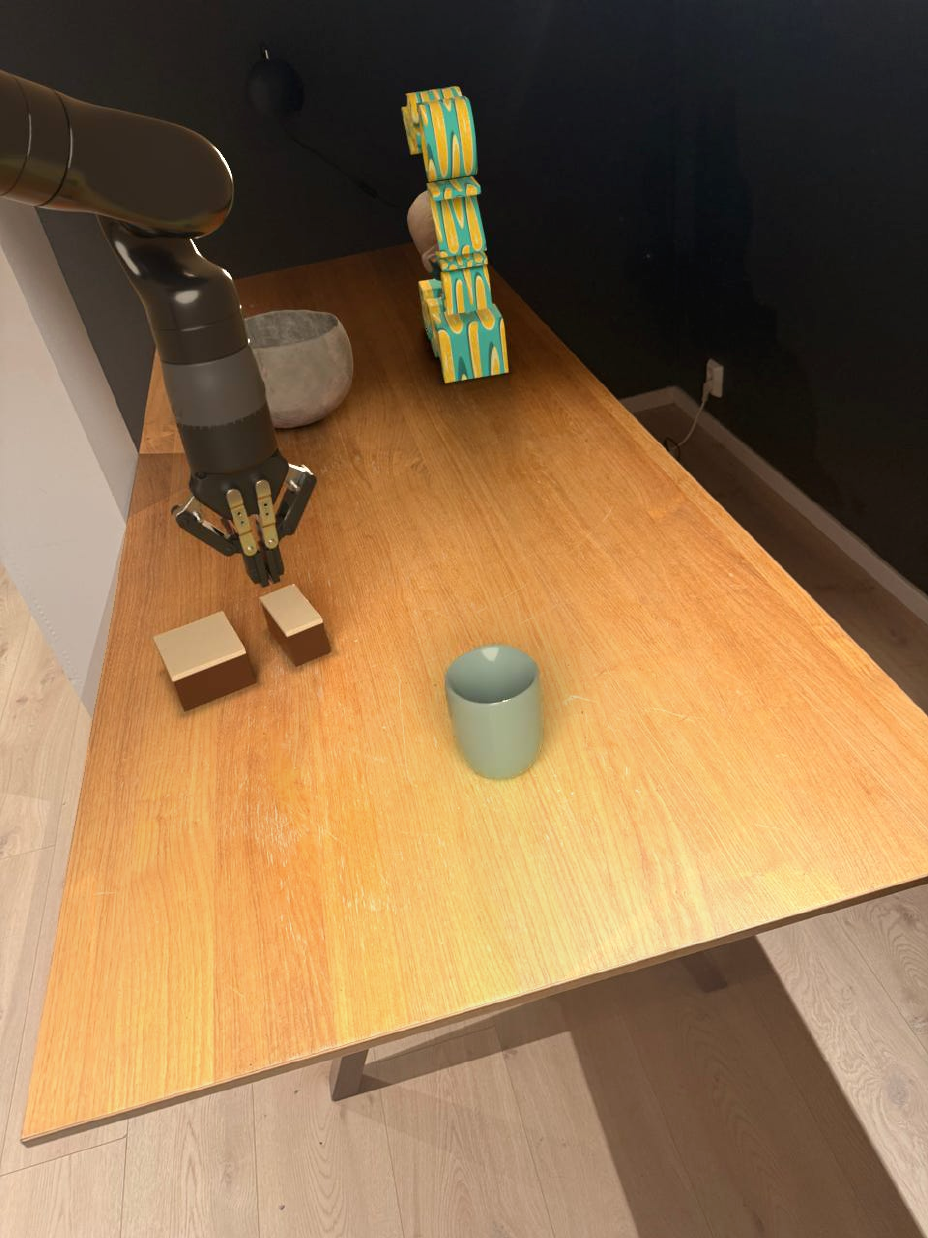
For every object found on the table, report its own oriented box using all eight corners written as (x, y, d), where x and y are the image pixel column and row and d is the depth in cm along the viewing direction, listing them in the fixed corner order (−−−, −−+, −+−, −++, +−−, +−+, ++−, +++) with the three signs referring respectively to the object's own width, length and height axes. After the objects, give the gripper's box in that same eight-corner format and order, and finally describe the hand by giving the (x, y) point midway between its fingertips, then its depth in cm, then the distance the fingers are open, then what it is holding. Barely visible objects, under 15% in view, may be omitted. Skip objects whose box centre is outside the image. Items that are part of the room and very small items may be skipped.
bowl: (356, 441, 141) (336, 342, 132) (221, 455, 142) (193, 359, 133) (368, 386, 157) (351, 296, 149) (247, 400, 159) (223, 311, 150)
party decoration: (509, 374, 155) (484, 97, 131) (439, 385, 154) (401, 110, 131) (478, 314, 180) (452, 74, 157) (418, 324, 179) (383, 84, 156)
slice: (295, 667, 98) (285, 632, 95) (269, 630, 104) (259, 596, 101) (330, 652, 99) (322, 617, 97) (302, 616, 105) (293, 583, 103)
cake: (184, 712, 94) (171, 677, 92) (165, 670, 100) (152, 636, 98) (256, 683, 97) (244, 648, 94) (233, 644, 103) (222, 610, 100)
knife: (282, 590, 85) (277, 571, 84) (271, 594, 85) (265, 575, 84) (229, 520, 98) (224, 503, 97) (219, 524, 97) (213, 506, 96)
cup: (498, 808, 79) (486, 719, 73) (441, 761, 84) (425, 675, 79) (565, 759, 83) (558, 671, 77) (506, 718, 88) (496, 632, 82)
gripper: (282, 368, 82) (321, 541, 92) (128, 411, 77) (187, 588, 87) (312, 393, 76) (351, 575, 86) (148, 442, 72) (209, 627, 82)
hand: (268, 581), depth 87 cm, fingers closed
